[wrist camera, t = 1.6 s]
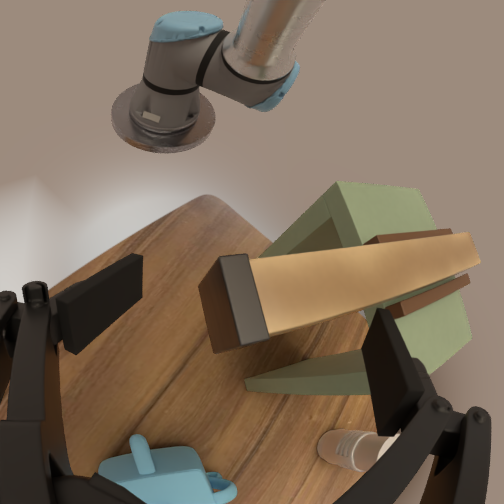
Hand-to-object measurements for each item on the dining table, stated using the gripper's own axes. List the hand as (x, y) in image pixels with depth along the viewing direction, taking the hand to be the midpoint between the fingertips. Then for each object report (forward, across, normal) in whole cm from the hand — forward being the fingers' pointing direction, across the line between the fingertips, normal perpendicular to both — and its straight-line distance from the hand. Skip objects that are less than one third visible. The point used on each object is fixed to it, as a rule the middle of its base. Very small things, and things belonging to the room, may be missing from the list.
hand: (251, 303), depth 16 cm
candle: (+18, +16, -35) cm, 43 cm away
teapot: (+2, -10, -35) cm, 37 cm away
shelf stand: (+26, +1, -19) cm, 32 cm away
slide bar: (+4, +7, +1) cm, 9 cm away
